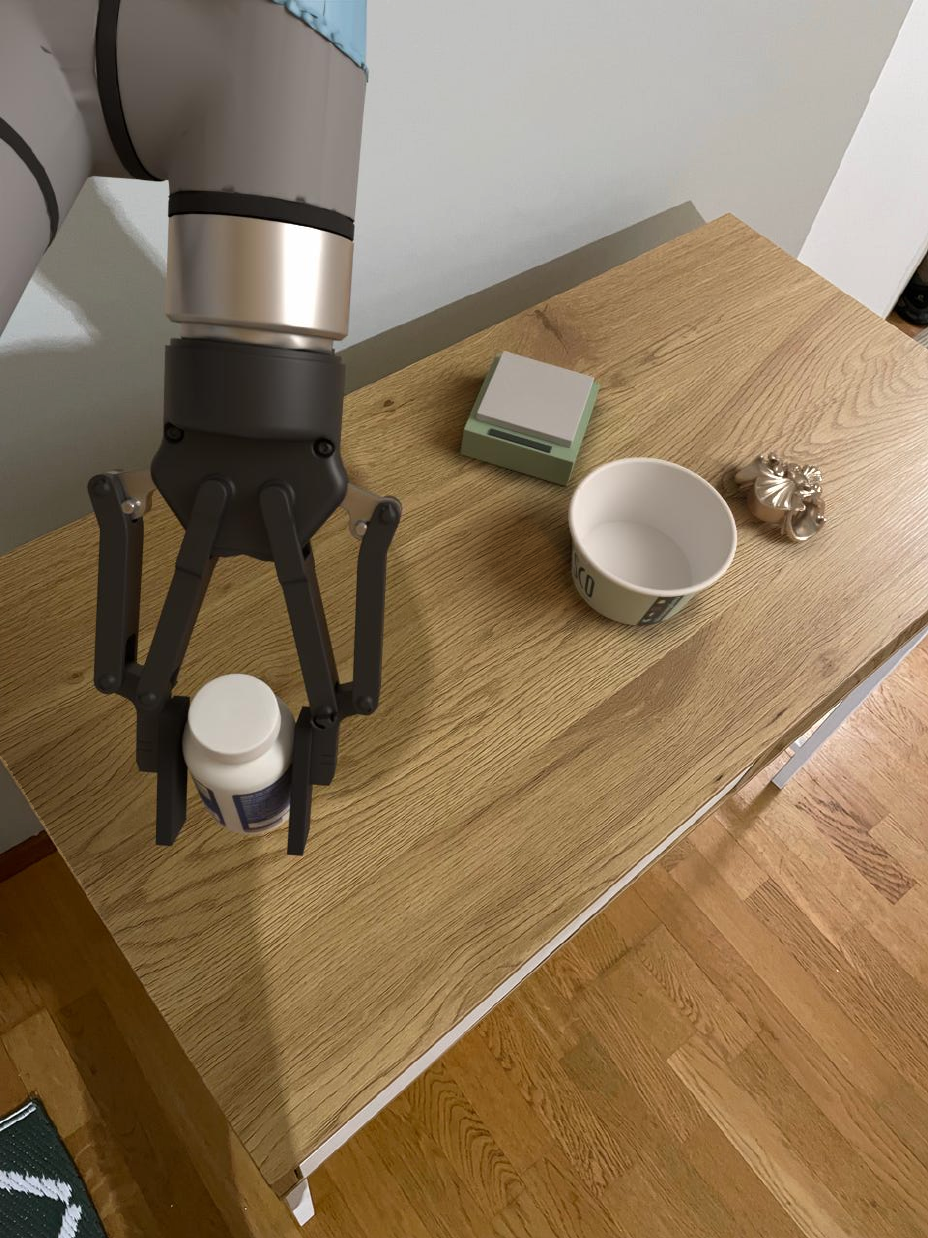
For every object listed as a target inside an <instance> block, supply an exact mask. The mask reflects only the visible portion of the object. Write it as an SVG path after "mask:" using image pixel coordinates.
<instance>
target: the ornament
mask: <svg viewBox="0 0 928 1238" xmlns="http://www.w3.org/2000/svg"><path fill="white" fill-rule="evenodd" d="M822 481H823V474H822V470H820V469H819V468H818V467H817V466H815V465H810V464H804V465H803V466H801V465H800V464H798V463H796V462H790V463H789V462H784V459H783V458H782V457H781V458H780V457H779V456H778V454H777V453H776V452H774V451H770V452H769V453H768V454H767V460H766V459H765V458H764V455H762V454H758V455H757V456H756V457H755V458H754V459H753V460H752V461H751V462H750V463H749V464H747V465H746V466H744V467H743V468H742V469H740V470H739V471H738V472H737V473H736V474H735V475H734V482H735V483H736V484H738V485H740V486H739V487H738V491H739V492H743V493H744V492H746V493H747V492H748V493H747V495H746V504H747V507H748V509H749V511H750V512H751V514H752V515H753V516H755V518H757V519H759V520H760V521H763V522H765V523H766V524H767V523H768V524H770V525H780V529H779V531H780V532H779V533H780V534H781V535H784V534H786V535H787V536H788V538H789V539H790V540H791V541H793V542H795V543H803V542H806V541H809V540H810V539H812V538H813V537H814V536H816V535H817V534H818V533H819V532H820V531H821V529H823V527H824V526H825V525H826V522H827V518H826V517H825V516H824V515H825V511H826V501H825V500H824V499H821V496H822V494H823V487H822V486H821V485H820V483H821V482H822ZM795 512H797V513H796V515H795V517H794V518H793V515H794V513H795ZM792 519H793V520H792Z"/></svg>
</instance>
